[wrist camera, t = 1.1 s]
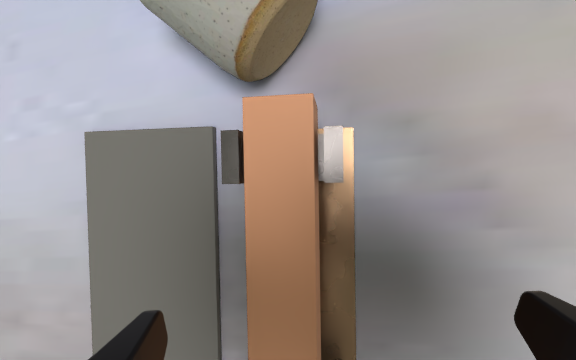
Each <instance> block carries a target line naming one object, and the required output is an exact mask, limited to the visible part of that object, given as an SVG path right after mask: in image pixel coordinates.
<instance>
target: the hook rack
mask: <svg viewBox="0 0 576 360" xmlns="http://www.w3.org/2000/svg"><path fill="white" fill-rule="evenodd" d="M221 159H222V184H241V183H244V142H243V132H242V131H239V130H225V131H221ZM318 181H319V249H320V316H321V360H356V320H355V233H354V146H353V128H343V126H324V129H318Z"/></svg>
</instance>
